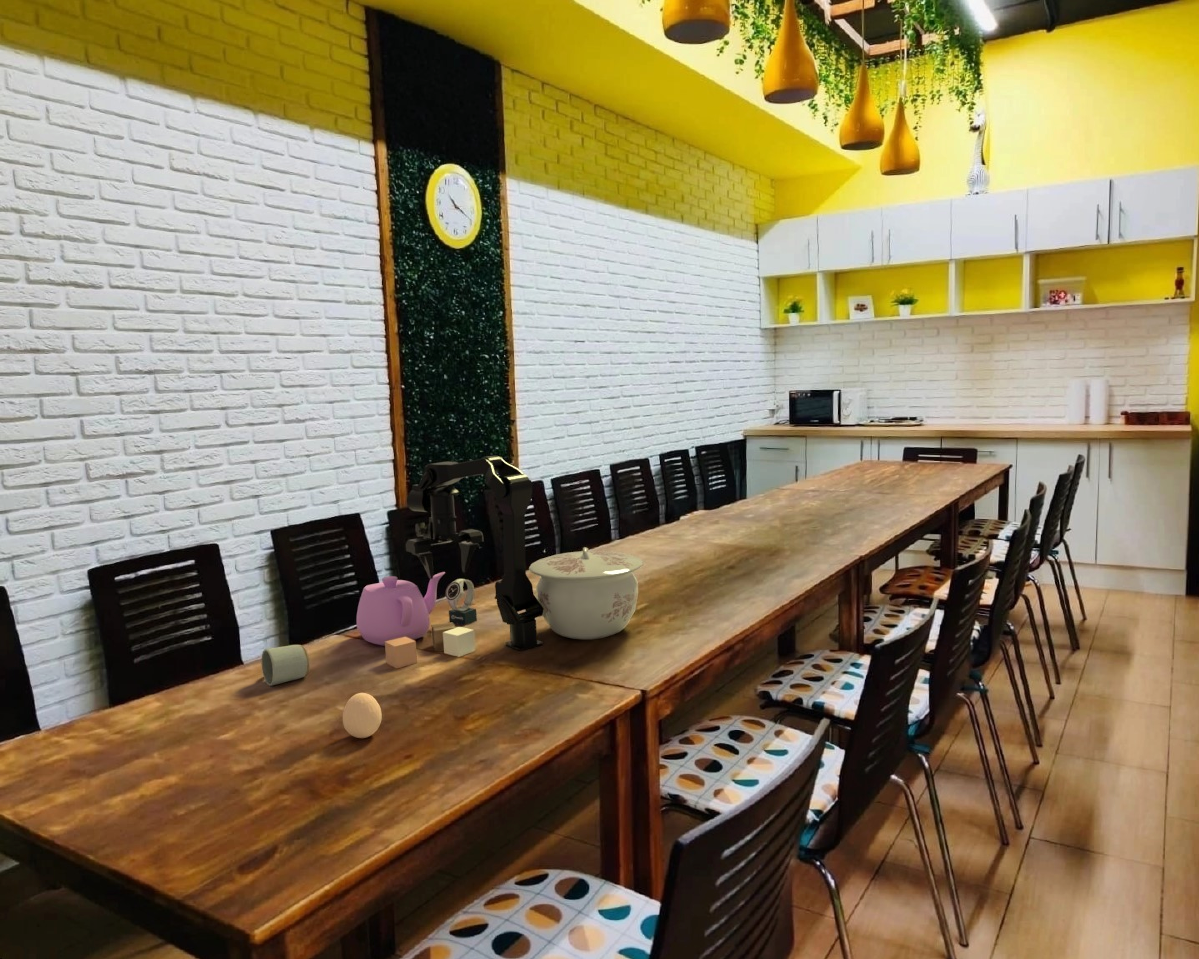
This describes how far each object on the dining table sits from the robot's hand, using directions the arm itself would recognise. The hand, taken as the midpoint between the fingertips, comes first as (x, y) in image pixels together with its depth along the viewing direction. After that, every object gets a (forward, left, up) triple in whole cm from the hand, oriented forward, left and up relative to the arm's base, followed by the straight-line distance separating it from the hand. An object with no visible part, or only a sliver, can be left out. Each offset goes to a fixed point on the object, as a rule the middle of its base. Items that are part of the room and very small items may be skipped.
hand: (447, 575), depth 214 cm
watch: (+3, -5, -14) cm, 15 cm away
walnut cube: (-12, +8, -14) cm, 20 cm away
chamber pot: (-28, -22, -14) cm, 38 cm away
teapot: (+4, +13, -14) cm, 19 cm away
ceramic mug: (-6, +44, -14) cm, 46 cm away
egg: (-47, +44, -14) cm, 66 cm away
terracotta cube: (-15, +21, -14) cm, 29 cm away
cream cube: (-18, +8, -14) cm, 24 cm away
